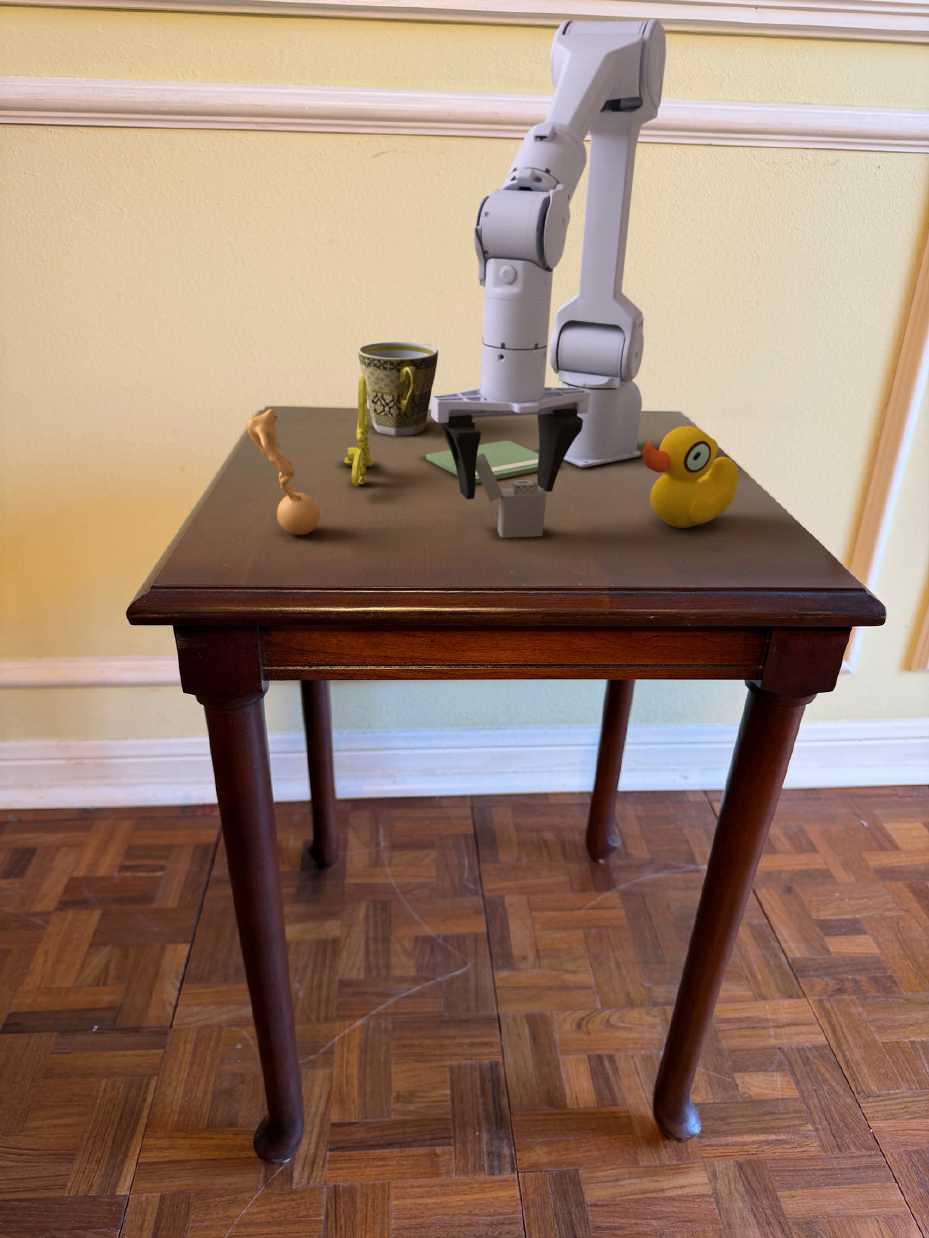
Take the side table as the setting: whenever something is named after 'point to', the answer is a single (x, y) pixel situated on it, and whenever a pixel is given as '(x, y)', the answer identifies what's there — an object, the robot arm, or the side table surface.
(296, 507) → the figurine
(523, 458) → the towel
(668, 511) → the duckling
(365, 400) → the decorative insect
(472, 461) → the robot arm
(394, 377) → the ceramic cup
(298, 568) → the side table surface
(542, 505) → the lighter
